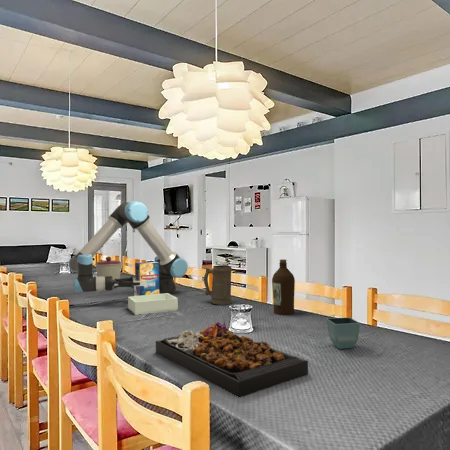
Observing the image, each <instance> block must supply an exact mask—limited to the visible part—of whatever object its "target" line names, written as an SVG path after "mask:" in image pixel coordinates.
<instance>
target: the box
mask: <svg viewBox="0 0 450 450" xmlns="http://www.w3.org/2000/svg"><path fill="white" fill-rule="evenodd" d="M178 301H179V298H178V297H176V296H175V295H172V294H171V293H164V294H153V295H142V296H136V295H134V296H133V295H132V296H127V309H128V310H129V311H130V312H131V311H132V312H131V313H132V314H133V315H135V316H139V314H141V315H148V314H149V313H150V314H157V313H167V312H176V311H178V310H179V304H178V303H179V302H178Z"/></svg>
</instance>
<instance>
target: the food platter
mask: <svg viewBox="0 0 450 450" xmlns="http://www.w3.org/2000/svg"><path fill="white" fill-rule="evenodd" d="M222 318H223V323H221V322H220V321H216V320H215V321H214V324H210V326H209V323H208V321H206V326H207V328H205V329H204V330H201V331H200V330H198V331H194V330H186V329H185V331H183V332H181V333H178V334H177V336H172V337H166V338H163V339H160V340H155V353H156V354H158V355H160V356H162V357H163V358H165V359H167V360H169V361H171V362H172V363H174V364H176V365H178V366H180V367H182V368H183V369H185V370H187V371H189V372H191V373H192V374H194V375H195V376H196V375H197V376H199V377H200V378H201V379H204V380H206V381H207V382H210V383H211V384H213V385H214V386H216V385H217V386H216V387H218V386H219V388H220V387H221V388H220V389H222V390H224V389H225V390H224V391H226V392H227V391H228V393H229V392H230V393H229V394H231V393H232V394H231V395H233V394H234V395H233V396H235V395H236V396H235V397H237V396H238V397H240V398H242V397H241V396H243V397H245V396H248V395H252V394H254V393H257V392H259V391H260V392H261V391H264V390H266V389H268V388H271V387H275V386H278V385H280V384H284V383H286V382H290V381H293V380H296V379H298V378H301V377H305V376H307V375H309V361H308V360H307V359H304V358H301V357H298V356H294V355H292V354H290V353H286V352H283V351H281V350H278V349H274V348H271V345H270V344H269V343H268V342H267V341H254V340H253V339H252V338H250V337H248V336H244V335H242V336H239V335H238V334H236V333H235V334H234V332H233V331H231V330H230V331H229V329H228V328H227V325H226V323H225V317H224V316H223V317H222ZM238 397H237V398H238Z"/></svg>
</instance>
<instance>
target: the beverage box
mask: <svg viewBox="0 0 450 450" xmlns="http://www.w3.org/2000/svg"><path fill="white" fill-rule="evenodd" d="M134 266H135V268H134V271H135V272H134V276H135V277H134V278H135V280H136V281H145V280H146V286H135V296H142V295H153V294H159V262H154V261H142V262H141V261H140V262H135V263H134Z"/></svg>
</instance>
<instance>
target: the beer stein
mask: <svg viewBox="0 0 450 450" xmlns="http://www.w3.org/2000/svg"><path fill="white" fill-rule="evenodd" d="M232 271H233V268H232V266H230V265H226V264H225V265H220V264H219V265H214V266H213V269H211V268H210V267H208V268H207V267H206V268H205V273H204V275H203V284H204V287H205V292H204V295H205V296H211V300H210V303H212V304H214V305H219V306H221V305H223V306H225V305H226V306H227V305H230V304H231V303H232V295H231V294H232ZM210 274H212V282H211V283H212V284H211V290H210V286H209V281H208V279H209V278H208V277H209V275H210Z"/></svg>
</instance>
